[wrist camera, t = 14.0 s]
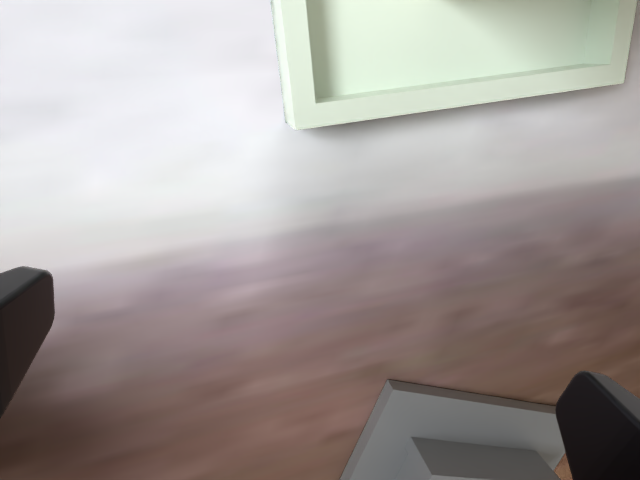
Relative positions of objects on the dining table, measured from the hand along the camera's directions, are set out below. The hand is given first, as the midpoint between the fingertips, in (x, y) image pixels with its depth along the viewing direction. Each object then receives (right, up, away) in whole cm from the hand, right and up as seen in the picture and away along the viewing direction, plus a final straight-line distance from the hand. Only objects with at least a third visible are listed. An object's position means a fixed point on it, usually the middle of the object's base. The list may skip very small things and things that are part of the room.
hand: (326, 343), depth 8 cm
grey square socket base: (+7, -14, +21) cm, 26 cm away
